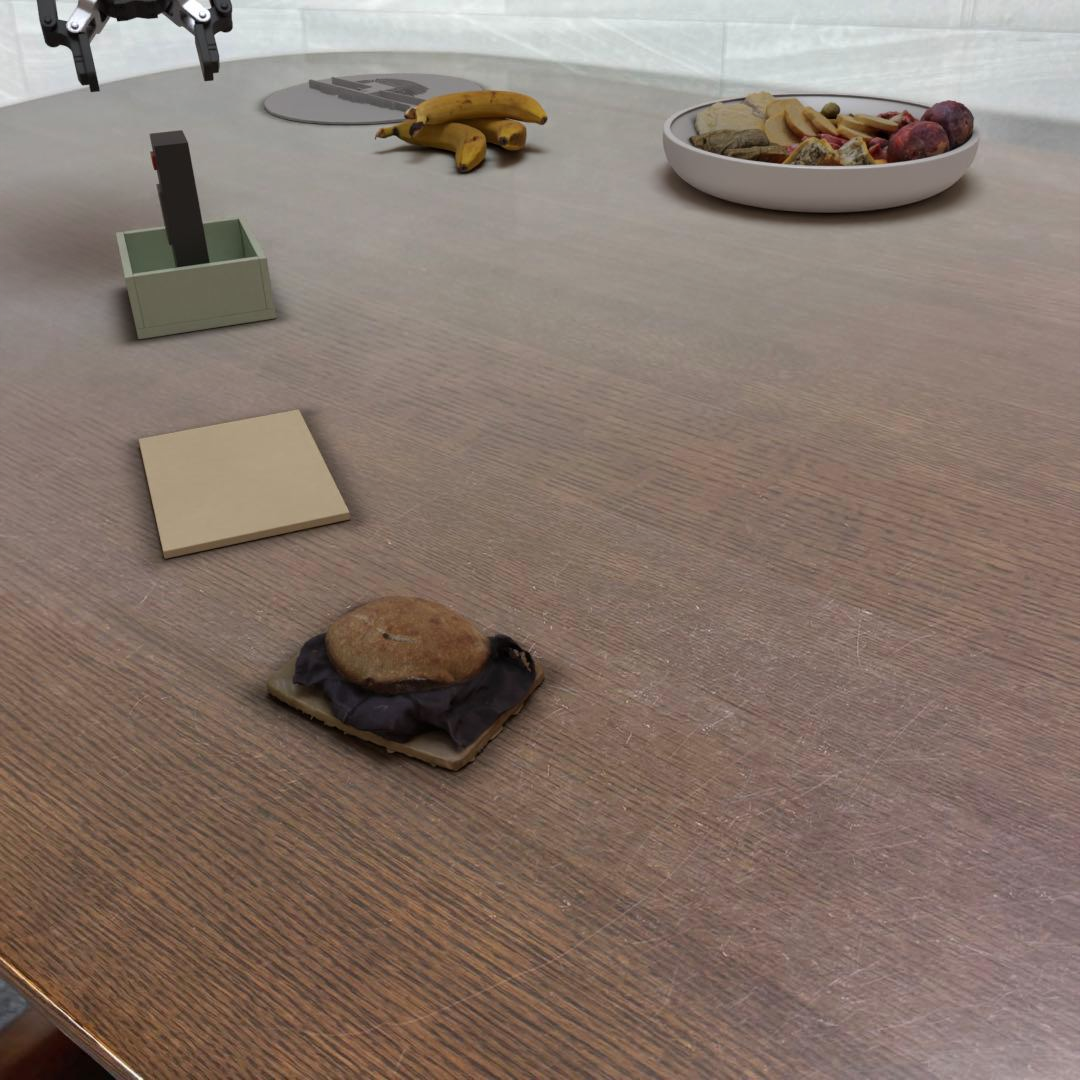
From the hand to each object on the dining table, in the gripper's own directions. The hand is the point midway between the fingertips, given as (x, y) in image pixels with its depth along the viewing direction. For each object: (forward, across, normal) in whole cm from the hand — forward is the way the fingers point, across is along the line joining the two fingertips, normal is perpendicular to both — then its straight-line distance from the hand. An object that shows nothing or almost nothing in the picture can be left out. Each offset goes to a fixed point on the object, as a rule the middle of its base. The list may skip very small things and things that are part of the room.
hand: (152, 80), depth 92 cm
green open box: (+16, 0, +6) cm, 17 cm away
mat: (+37, -1, -15) cm, 40 cm away
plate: (-30, +30, +53) cm, 68 cm away
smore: (+53, +3, -30) cm, 61 cm away
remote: (+15, 0, +6) cm, 16 cm away
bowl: (+9, +61, +13) cm, 63 cm away
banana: (-8, +32, +30) cm, 45 cm away
